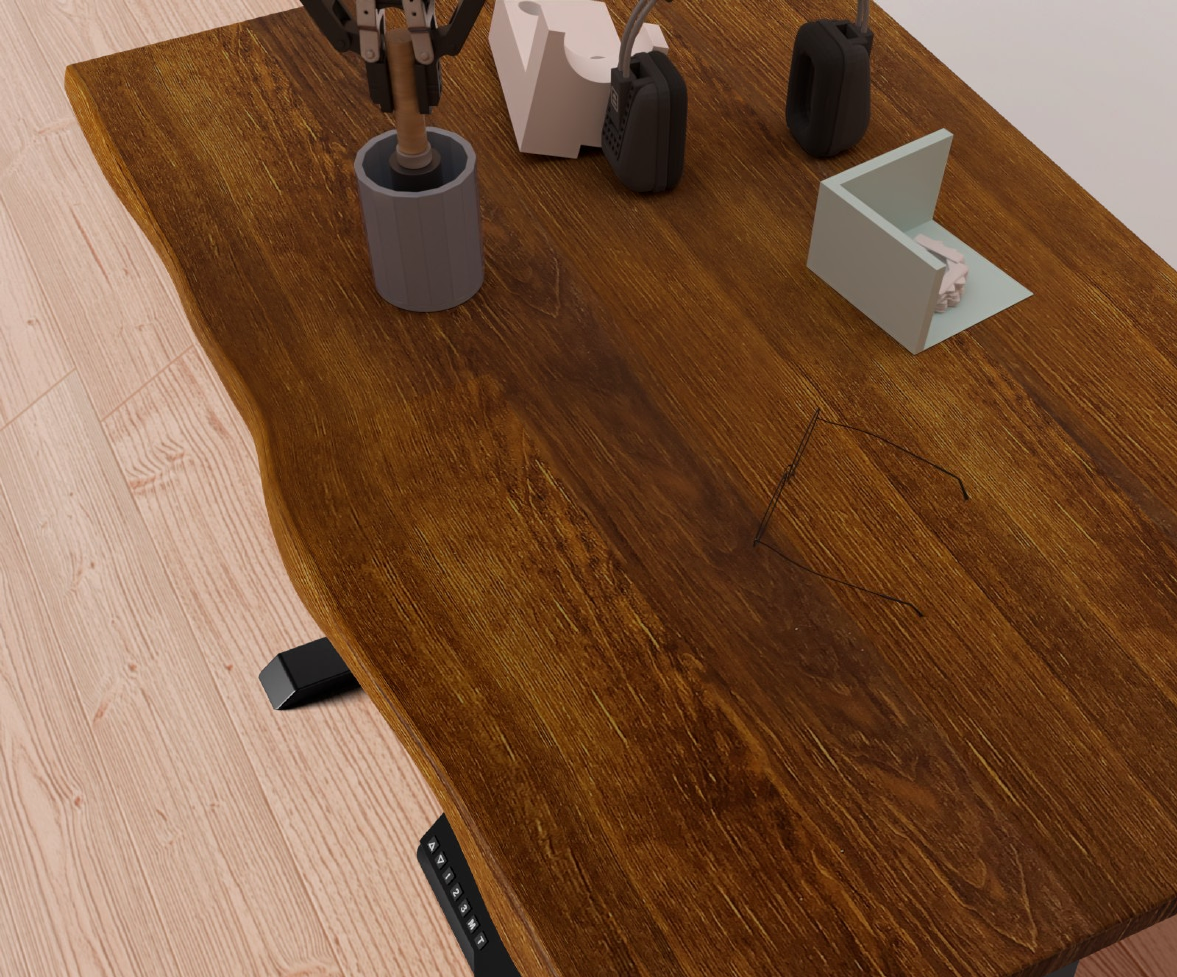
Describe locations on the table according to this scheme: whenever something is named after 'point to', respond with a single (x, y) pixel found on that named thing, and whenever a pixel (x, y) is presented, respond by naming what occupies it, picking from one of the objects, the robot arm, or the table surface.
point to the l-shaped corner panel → (904, 248)
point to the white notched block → (559, 69)
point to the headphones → (660, 100)
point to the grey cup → (422, 226)
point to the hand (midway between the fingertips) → (407, 106)
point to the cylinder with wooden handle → (409, 121)
